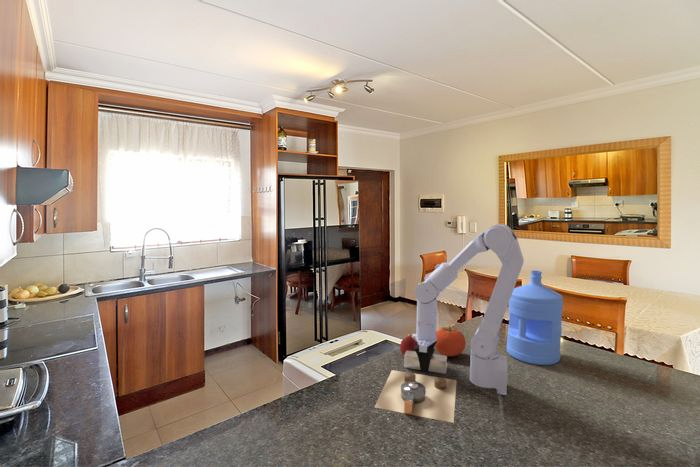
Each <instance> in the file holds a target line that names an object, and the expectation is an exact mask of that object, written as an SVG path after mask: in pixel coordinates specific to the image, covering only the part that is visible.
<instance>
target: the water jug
mask: <svg viewBox="0 0 700 467" xmlns="http://www.w3.org/2000/svg"><path fill="white" fill-rule="evenodd" d="M542 273H543V272H542V271H541V270H530V282H529V283H527V284H524V285H519V286H517V287H514V290H513V292H512V295H511V298H510V301H509V303H508V312H509V317H508V329H507V335H506V336H507V339H506V341H507V342H506V352H507V353H508V354H509V356H511V357H513V358H514V359H516V360H517V361H521V362H524V363H527V364H532V365H537V366H550V365H554V364H557V363H559V361H560V359H561V341H562V340H561V339H562V338H561V337H562V330H563V329H562V321H563V320H562V319H563V309H564V302H563V299H564V298H563V296H562V294H560V293H558V292H557V291H555V290H553V289H551V288H549V287H547V286H546V285H543V284H542V278H543V277H542Z"/></svg>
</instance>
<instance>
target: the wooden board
mask: <svg viewBox="0 0 700 467" xmlns="http://www.w3.org/2000/svg"><path fill="white" fill-rule="evenodd" d="M409 381H413V382H418V383H421V384H423V385H424V386H425V388H426V393H425V400H424V401H423V402H421V403H415V404H414V407H413V412H412V416H416V417H422V418H426V419H432V420H437V421H441V422H446V423H452V424H454V422H455V409H456V406H455V405H456V396H457V395H456V393H457V379H451V378H446V377H440V376H439V377H438V376H433V375H432V376H431V375H426V374H419V373H413V372H408V371H400V370H396V369H395V370H393V369H391V371H390V374H389V375H388V377H387V380H386V382H385V383H384V386H383V388H382V390H381V392H380V394H379V396H378V399H377V400H376V403H375V405H374V408H376V409H379V410H386V411H389V412H395V413H401V414H406V413H404V405H405V401H404V400H403V399H402V398H401V385H402V384H403V383H405V382H409ZM406 415H407V414H406ZM409 415H411V414H409Z"/></svg>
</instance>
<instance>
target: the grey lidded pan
mask: <svg viewBox="0 0 700 467" xmlns="http://www.w3.org/2000/svg"><path fill="white" fill-rule="evenodd" d="M425 393H426V388H425V386H424V385H423V384H421V383H418V382H413V381H409V382H405V383H403V384H402V385H401V398H402V399H403V400H404V401H405V405H404V413H403V414H405V413H406V415H410V414H411V415H412V412H413V407H414V404H415V403H421V402H423V401H424V400H425ZM412 416H413V415H412Z"/></svg>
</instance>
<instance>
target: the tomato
mask: <svg viewBox="0 0 700 467" xmlns="http://www.w3.org/2000/svg"><path fill="white" fill-rule="evenodd" d="M436 337H437V342H436V344H435V346H434V349H435V350H436V351H437V352H438V353H439V354H440V355H445V356H447V357H456V356H459V355H460V354H461V353H463V351H464V350H465V348H466V345H467V344H466V343H467V342H466V341H467V340H466V338H465V336H464V334H463V332H461V330H459V329H458V328H456V327H452V326H451V325H449V326H446V327H445V326H443V327H440V328H439V329H438V330H436Z"/></svg>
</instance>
